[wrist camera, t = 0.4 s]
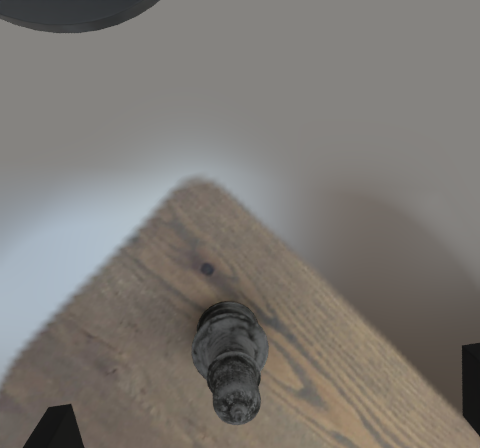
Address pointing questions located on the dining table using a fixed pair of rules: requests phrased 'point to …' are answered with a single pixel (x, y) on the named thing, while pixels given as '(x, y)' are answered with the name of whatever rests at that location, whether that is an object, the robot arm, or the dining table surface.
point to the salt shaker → (231, 359)
